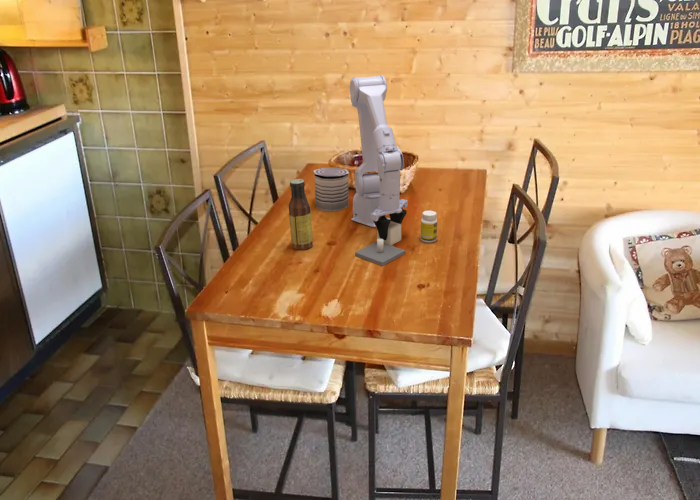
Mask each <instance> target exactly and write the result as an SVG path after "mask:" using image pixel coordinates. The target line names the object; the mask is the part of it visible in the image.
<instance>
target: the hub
mask: <svg viewBox="0 0 700 500" xmlns="http://www.w3.org/2000/svg"><path fill="white" fill-rule="evenodd" d="M376 238H377V239H380V237H379V233H378V230H377V229H376ZM377 239H376V240H377ZM400 241H402V223H401V224H399V223H396V222H393V221H390V224H389V227H388V235H387V240H384V243H385V244H388V245H391V246H394V244H397V243H399V242H400Z"/></svg>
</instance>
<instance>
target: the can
mask: <svg viewBox="0 0 700 500" xmlns="http://www.w3.org/2000/svg"><path fill="white" fill-rule="evenodd" d="M313 173H314V194H315V195H314V197H315V208H316V209H319V210H321V211H325V212H338V211H343V210H345V209H346V208H348V207H349V206H350V205H349V202H350V201H349V174H350V172H349V170H348V169H346V168H340V167H321V168H318V169H314V170H313Z"/></svg>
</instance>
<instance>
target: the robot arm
mask: <svg viewBox="0 0 700 500" xmlns="http://www.w3.org/2000/svg"><path fill="white" fill-rule="evenodd" d="M387 91H388V83H387V80H386V77H385V75H382V74H381V75H374V76H373V75H372V76H360V77H352V78H351V79H350V82H349V95H350V103H351V106H352V107H354V108H356V110H357V116H358V124H359V134H360V137H359V138H360V145H361V154H362V163H361V164H360V165H359V166H358V167H356V169H355V170H354V171H355V172H354V188H355V191H356V192H355V194H354V196H353V199H352V218H350V219H351V221H353V222H355V223H359V224H362V225H366V226H368V227H371V228H376V231H377V230H378V233H379V237H380V239H383V240H387V235H388V227H389V224H390V221H393V222H396V223H399V224H401V225H402V223H403V221H404V218H405V217H406V215H407V211H408V210H406V209H404V208H407V207H408V202H409V201H408V200H407V199H403V198H402V199H400V196H401V195H400V194H401V193H400V192H401V171H403V169H404V165H405V163H404V155H403V153H402V150H401V149H400V147H399V146H398V145H397V142H396V138H395V136H394V135H395V134H394V130H393V128H392V127H390V126H388V122H387V115H386V110H385V103H384V101H385V100H386V97H387ZM387 215H388V216H389V217H386V216H387Z"/></svg>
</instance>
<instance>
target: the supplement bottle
mask: <svg viewBox="0 0 700 500" xmlns="http://www.w3.org/2000/svg"><path fill="white" fill-rule="evenodd" d="M421 217H422V218H421V219H420V236H419V237H420V238H419V239H420V241H422V242H423V243H434V242H436V241H437V238H438V219H437V212H436V211H433V210H424V211H423V212H422V216H421Z"/></svg>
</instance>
